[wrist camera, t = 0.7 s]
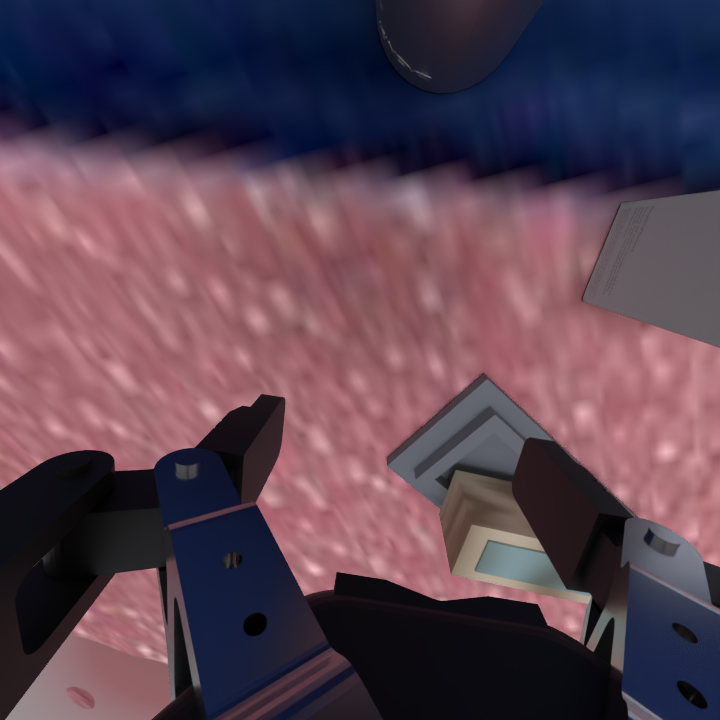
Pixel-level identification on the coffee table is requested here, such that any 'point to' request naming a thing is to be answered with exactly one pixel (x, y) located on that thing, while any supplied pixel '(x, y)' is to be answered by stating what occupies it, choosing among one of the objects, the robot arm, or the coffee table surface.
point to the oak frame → (496, 538)
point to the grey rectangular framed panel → (468, 441)
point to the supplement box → (663, 265)
